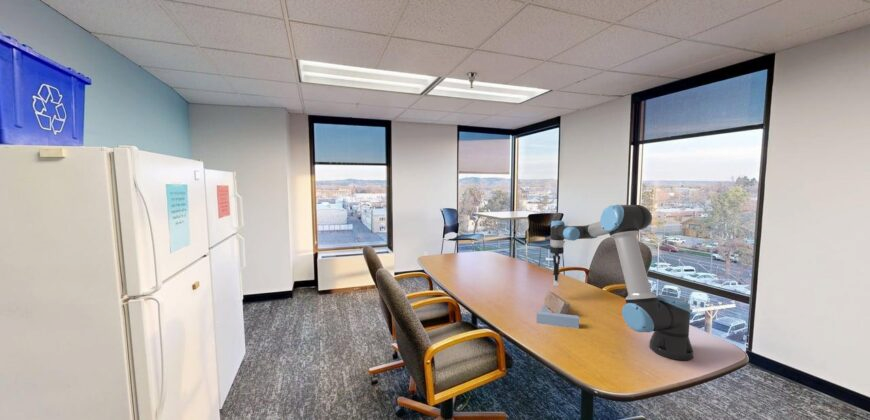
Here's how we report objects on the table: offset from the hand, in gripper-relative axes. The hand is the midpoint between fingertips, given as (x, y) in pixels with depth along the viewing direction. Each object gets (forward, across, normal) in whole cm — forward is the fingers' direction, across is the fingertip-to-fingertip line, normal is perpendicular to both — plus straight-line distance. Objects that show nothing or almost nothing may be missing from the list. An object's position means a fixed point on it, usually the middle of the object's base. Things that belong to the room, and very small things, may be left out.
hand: (555, 285), depth 196 cm
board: (+11, -33, 0) cm, 35 cm away
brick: (+11, -16, 0) cm, 19 cm away
